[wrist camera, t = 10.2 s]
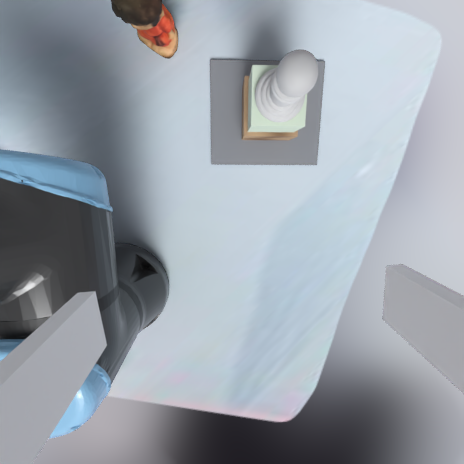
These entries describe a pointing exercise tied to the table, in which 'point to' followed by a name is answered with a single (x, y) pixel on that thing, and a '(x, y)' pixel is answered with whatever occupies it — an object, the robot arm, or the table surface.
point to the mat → (230, 121)
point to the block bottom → (259, 135)
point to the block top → (257, 119)
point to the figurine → (150, 23)
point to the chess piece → (286, 86)
